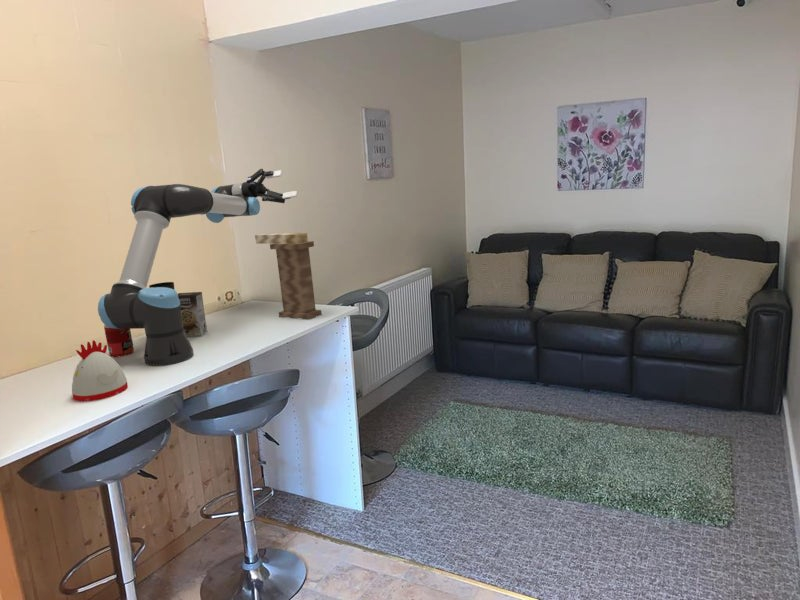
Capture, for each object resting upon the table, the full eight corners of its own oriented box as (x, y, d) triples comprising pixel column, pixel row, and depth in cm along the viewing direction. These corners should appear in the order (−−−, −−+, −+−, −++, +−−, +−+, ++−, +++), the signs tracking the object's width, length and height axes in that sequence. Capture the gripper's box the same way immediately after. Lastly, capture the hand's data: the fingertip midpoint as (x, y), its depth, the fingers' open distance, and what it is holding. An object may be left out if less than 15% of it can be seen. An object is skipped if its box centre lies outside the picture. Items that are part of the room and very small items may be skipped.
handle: (253, 244, 239) (252, 235, 239) (264, 242, 244) (263, 233, 244) (297, 243, 227) (296, 234, 226) (307, 241, 232) (307, 232, 231)
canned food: (128, 356, 199) (122, 325, 197) (105, 357, 199) (99, 326, 197) (138, 349, 207) (132, 319, 204) (116, 351, 207) (110, 321, 205)
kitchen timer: (64, 396, 163) (53, 345, 160) (111, 380, 174) (101, 332, 171) (89, 404, 155) (78, 350, 152) (137, 387, 166) (128, 336, 163)
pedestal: (279, 317, 240) (269, 244, 233) (292, 312, 246) (283, 241, 240) (308, 319, 231) (299, 244, 225) (321, 314, 238) (313, 241, 231)
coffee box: (178, 338, 218) (171, 296, 215) (185, 333, 225) (178, 292, 221) (201, 336, 218) (195, 294, 214) (208, 332, 224) (202, 290, 221)
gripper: (231, 165, 242) (276, 156, 236) (261, 201, 263) (304, 194, 256) (227, 179, 239) (272, 171, 232) (258, 215, 259) (301, 208, 253)
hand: (289, 183), depth 244 cm, fingers open, 13 cm apart
